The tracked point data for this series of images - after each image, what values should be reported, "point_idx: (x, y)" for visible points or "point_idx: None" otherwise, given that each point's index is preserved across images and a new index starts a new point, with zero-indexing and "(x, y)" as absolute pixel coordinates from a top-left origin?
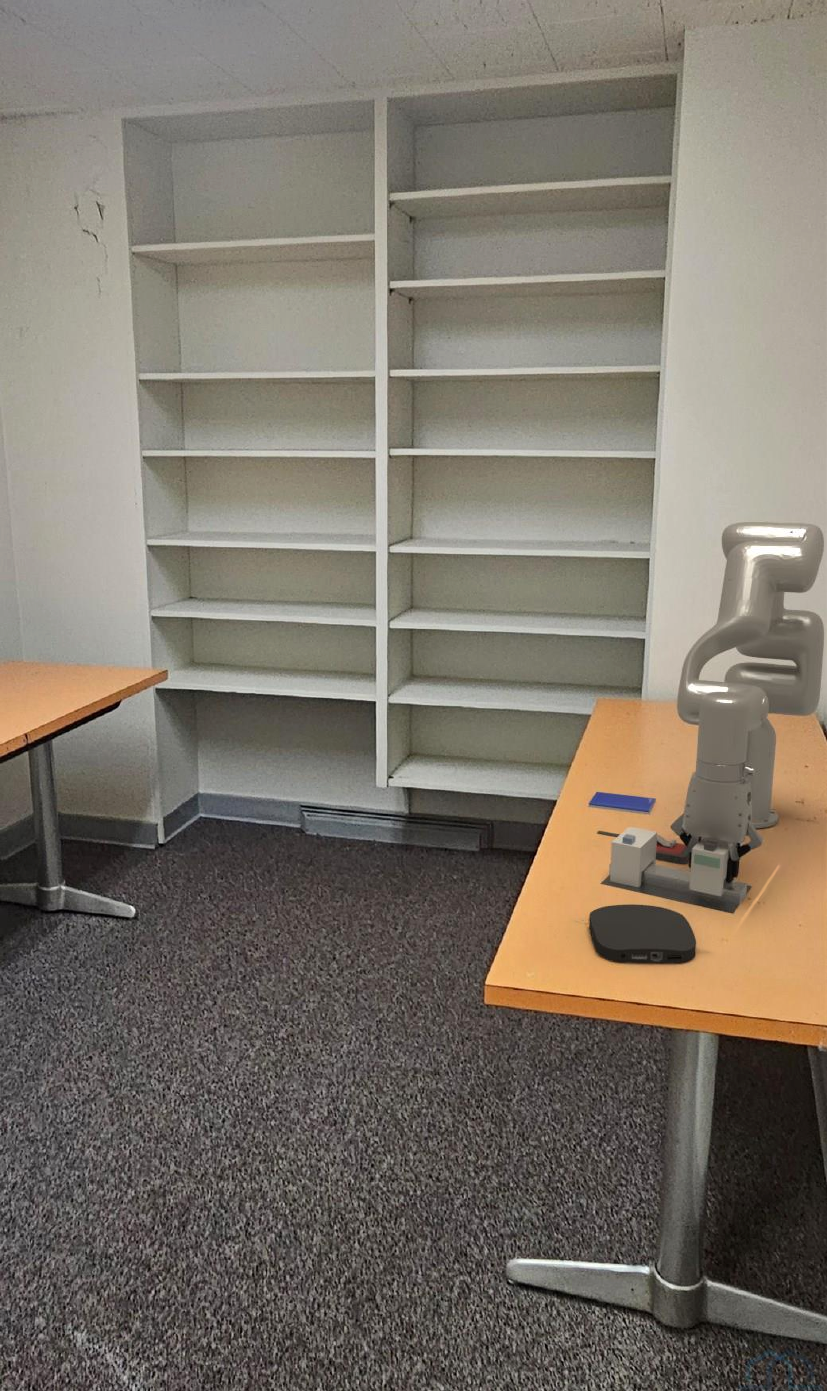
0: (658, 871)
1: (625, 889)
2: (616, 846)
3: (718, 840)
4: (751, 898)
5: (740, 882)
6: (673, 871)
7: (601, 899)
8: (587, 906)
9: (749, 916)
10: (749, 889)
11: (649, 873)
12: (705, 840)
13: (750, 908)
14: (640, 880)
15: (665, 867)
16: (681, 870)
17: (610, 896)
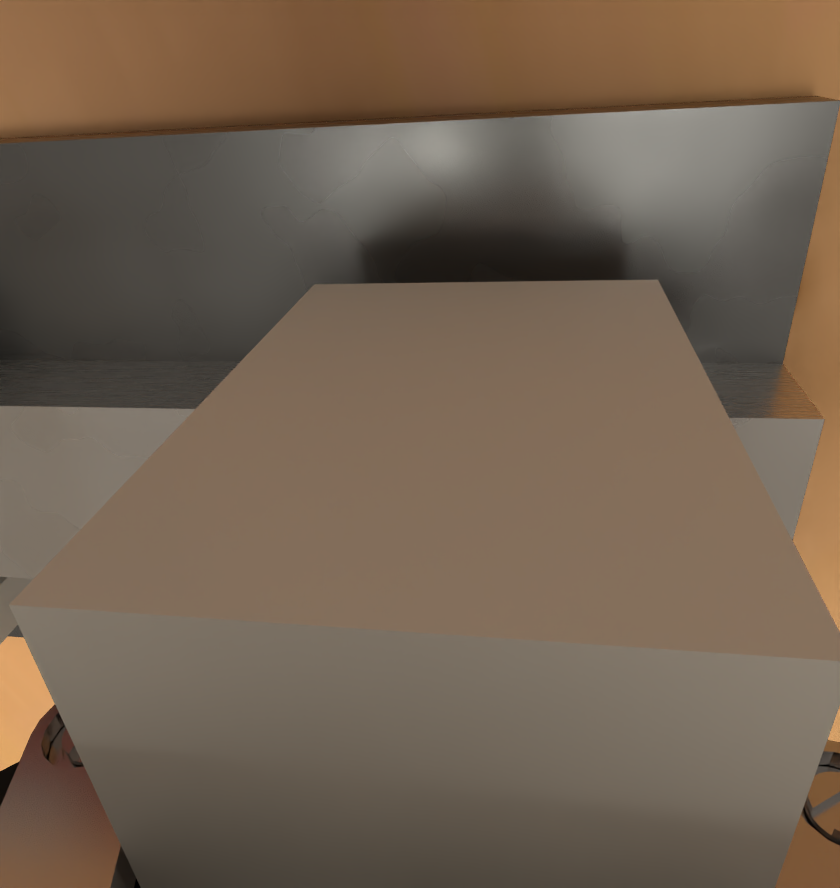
0: (25, 525)
1: (20, 636)
2: None
3: (430, 882)
4: (817, 262)
5: (747, 421)
6: (106, 470)
7: (3, 691)
8: (17, 762)
9: (813, 578)
10: (810, 211)
11: (5, 575)
12: None
13: (815, 459)
14: (14, 587)
15: (5, 425)
16: (144, 423)
17: (5, 650)
